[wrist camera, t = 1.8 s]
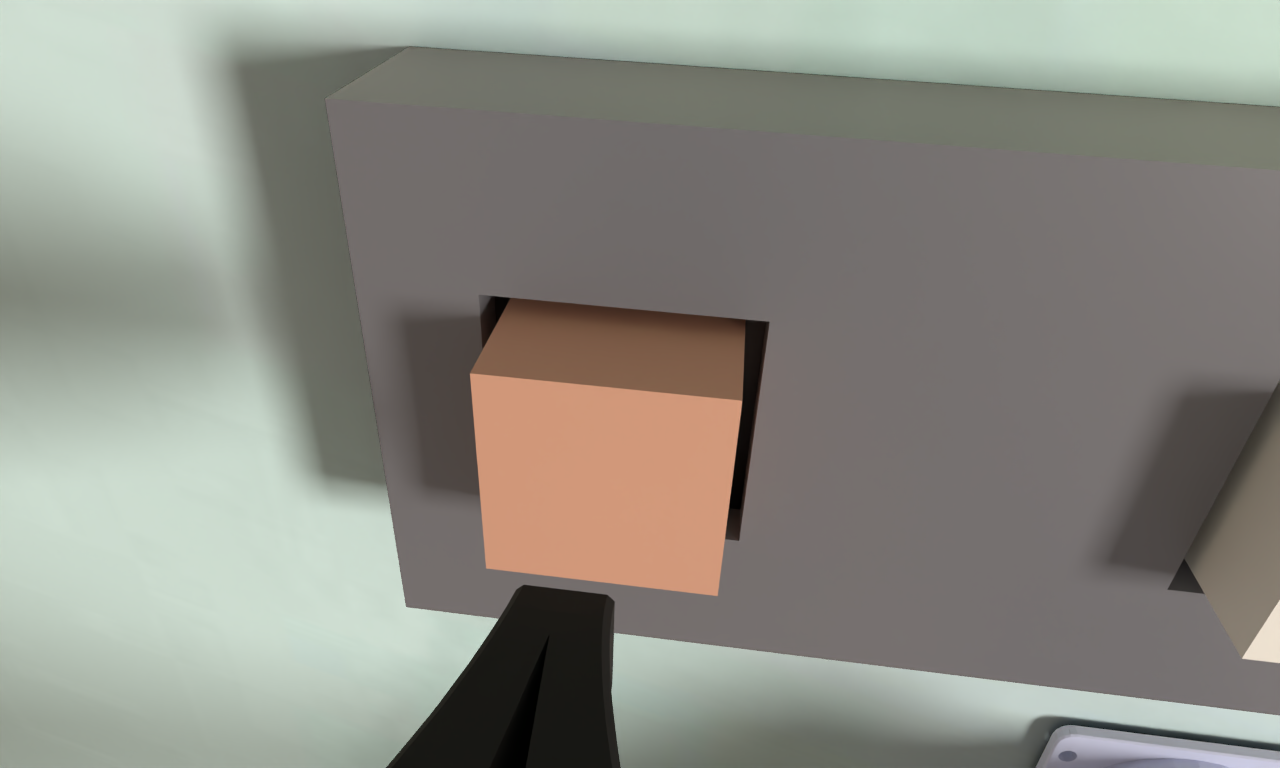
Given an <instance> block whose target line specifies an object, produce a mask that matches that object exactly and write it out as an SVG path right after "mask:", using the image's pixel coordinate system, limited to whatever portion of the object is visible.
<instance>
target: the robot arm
mask: <svg viewBox="0 0 1280 768" xmlns="http://www.w3.org/2000/svg"><path fill="white" fill-rule="evenodd" d="M614 611H615V601H614V600H613V599H612V598H611V597H609V596H608V595H606V594H598V593H590V592H581V591H573V590H565V589H556V588H548V587H540V586H531V585H522V586H521V587H519V588H518V589H516V591H515V592H514V594H513V596H512V598H511V600H510V601H509V603H508V605H507V606H506V608H505V610H504V611H503V613H502V615H501V616H500V618H499V619H498V621H497V623H496V624H495V626H494V627H493V629H492V630H491V632H490V633H489V635H488V636H487V638H486V639H485V641H484V642H483V644H482V645H481V647H480V648H479V650H478V651H477V652H476V654H475V655H474V657H473V658H472V660H471V661H470V663H469V664H468V665H467V667H466V668H465V669H464V671H463V672H462V673H461V675H460V676H459V677H458V679H457V680H456V681H455V683H454V684H453V686H452V687H451V688H450V690H449V691H448V692H447V694H446V695H445V696H444V698H443V699H442V700H441V702H440V703H439V704H438V706H437V707H436V708H435V709H434V711H433V712H432V713H431V714H430V716H429V717H428V718H427V719H426V721H425V722H424V723H423V724H422V725H421V727H420V728H419V729H418V730H417V731H416V733H415V734H414V735H413V736H412V737H411V739H410V740H409V741H408V742H407V743H406V745H405V746H404V747H403V748H402V749H401V751H400V752H399V753H398V754H397V756H396V757H395V758H394V759H393V760H392V761H391V763H390V764H389V765H388V766H387V767H386V768H621V767H620V761H619V754H618V747H617V740H616V732H615V723H614V714H613V705H612V695H611V688H612V672H613V641H614ZM1036 768H1280V751H1272V750H1264V749H1257V748H1249V747H1241V746H1233V745H1225V744H1217V743H1209V742H1202V741H1194V740H1186V739H1178V738H1170V737H1162V736H1154V735H1147V734H1139V733H1131V732H1123V731H1115V730H1107V729H1099V728H1092V727H1084V726H1076V725H1066V726H1062V727H1060V728H1058V729H1056V730H1055V731H1054V732H1053V734H1052V735H1051V737H1050V739H1049V741H1048V743H1047V745H1046V747H1045V749H1044V752H1043V754H1042V756H1041V758H1040V760H1039V762H1038V764H1037V766H1036Z"/></svg>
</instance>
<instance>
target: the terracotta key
mask: <svg viewBox="0 0 1280 768" xmlns="http://www.w3.org/2000/svg"><path fill="white" fill-rule="evenodd" d="M745 323H746V320H745V319H735V318H724V317H713V316H703V315H692V314H681V313H670V312H660V311H649V310H638V309H627V308H617V307H606V306H595V305H584V304H574V303H563V302H552V301H541V300H531V299H520V298H510V300H509V302H508V304H507V306H506V308H505V309H504V311H503V313H502V315H501V317H500V319H499V321H498V322H497V324H496V326H495V328H494V330H493V332H492V333H491V335H490V337H489V339H488V341H487V343H486V345H485V346H484V348H483V350H482V352H481V354H480V356H479V358H478V359H477V361H476V363H475V365H474V367H473V369H472V370H471V372H470V380H471V392H472V404H473V416H474V428H475V440H476V452H477V465H478V477H479V489H480V501H481V513H482V525H483V537H484V549H485V561H486V568H487V569H495V570H504V571H512V572H520V573H529V574H537V575H545V576H554V577H562V578H571V579H579V580H587V581H596V582H604V583H612V584H621V585H629V586H638V587H646V588H654V589H663V590H671V591H680V592H688V593H696V594H705V595H713V596H718V589H719V581H720V573H721V565H722V558H723V550H724V542H725V534H726V526H727V518H728V510H729V503H730V495H731V487H732V479H733V471H734V463H735V455H736V448H737V440H738V432H739V424H740V416H741V408H742V399H743V374H744V349H745Z"/></svg>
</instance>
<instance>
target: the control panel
mask: <svg viewBox="0 0 1280 768" xmlns="http://www.w3.org/2000/svg"><path fill="white" fill-rule="evenodd" d="M325 103H326V110H327V116H328V122H329V128H330V134H331V141H332V147H333V153H334V159H335V166H336V172H337V178H338V184H339V191H340V197H341V203H342V209H343V216H344V222H345V228H346V234H347V241H348V247H349V253H350V259H351V266H352V272H353V278H354V284H355V291H356V297H357V303H358V309H359V316H360V322H361V328H362V334H363V341H364V347H365V353H366V359H367V366H368V372H369V378H370V384H371V390H372V397H373V403H374V409H375V415H376V422H377V428H378V434H379V440H380V447H381V453H382V459H383V465H384V472H385V478H386V484H387V490H388V497H389V503H390V509H391V515H392V522H393V528H394V534H395V540H396V547H397V553H398V559H399V565H400V572H401V578H402V584H403V590H404V597H405V603H406V607H410V608H419V609H427V610H435V611H443V612H451V613H459V614H467V615H475V616H483V617H491V618H500V616H501V615H502V613H503V611H504V610H505V608H506V606H507V605H508V603H509V601H510V600H511V598H512V596H513V594H514V592H515V591H516V589H518V588H519V587H521V586H522V585H531V586H540V587H548V588H556V589H565V590H573V591H581V592H590V593H598V594H606V595H608V596H609V597H611V598H612V599H613V600H614V601H615V611H614V633H620V634H628V635H636V636H644V637H652V638H660V639H668V640H677V641H685V642H693V643H701V644H709V645H717V646H725V647H733V648H741V649H749V650H757V651H765V652H773V653H781V654H789V655H797V656H806V657H814V658H822V659H830V660H838V661H846V662H854V663H862V664H870V665H878V666H886V667H894V668H902V669H910V670H918V671H926V672H935V673H943V674H951V675H959V676H967V677H975V678H983V679H991V680H999V681H1007V682H1015V683H1023V684H1031V685H1039V686H1047V687H1055V688H1064V689H1072V690H1080V691H1088V692H1096V693H1104V694H1112V695H1120V696H1128V697H1136V698H1144V699H1152V700H1160V701H1168V702H1176V703H1184V704H1193V705H1201V706H1209V707H1217V708H1225V709H1233V710H1241V711H1249V712H1257V713H1265V714H1273V715H1280V663H1274V662H1266V661H1258V660H1249V659H1242V658H1241V656H1240V655H1239V653H1238V651H1237V649H1236V648H1235V646H1234V644H1233V642H1232V641H1231V639H1230V637H1229V635H1228V634H1227V632H1226V630H1225V628H1224V627H1223V625H1222V623H1221V621H1220V620H1219V618H1218V616H1217V615H1216V613H1215V611H1214V609H1213V608H1212V606H1211V604H1210V602H1209V601H1208V599H1207V597H1206V595H1205V594H1204V592H1203V590H1202V588H1201V587H1200V585H1199V583H1198V581H1197V580H1196V578H1195V576H1194V574H1193V573H1192V571H1191V569H1190V567H1189V566H1188V564H1187V562H1186V560H1185V559H1184V558H1185V556H1186V554H1187V552H1188V550H1189V548H1190V546H1191V545H1192V543H1193V541H1194V539H1195V537H1196V535H1197V533H1198V531H1199V530H1200V528H1201V526H1202V524H1203V522H1204V520H1205V518H1206V517H1207V515H1208V513H1209V511H1210V509H1211V507H1212V505H1213V504H1214V502H1215V500H1216V498H1217V496H1218V494H1219V492H1220V490H1221V489H1222V487H1223V485H1224V483H1225V481H1226V479H1227V477H1228V476H1229V474H1230V472H1231V470H1232V468H1233V466H1234V464H1235V463H1236V461H1237V459H1238V457H1239V455H1240V453H1241V451H1242V449H1243V448H1244V446H1245V444H1246V442H1247V440H1248V438H1249V436H1250V435H1251V433H1252V431H1253V429H1254V427H1255V425H1256V423H1257V421H1258V420H1259V418H1260V416H1261V414H1262V412H1263V410H1264V408H1265V407H1266V405H1267V403H1268V401H1269V399H1270V397H1271V395H1272V394H1273V392H1274V390H1275V388H1276V386H1277V384H1278V382H1279V380H1280V107H1271V106H1257V105H1243V104H1228V103H1214V102H1200V101H1185V100H1171V99H1156V98H1142V97H1128V96H1113V95H1099V94H1085V93H1070V92H1056V91H1042V90H1027V89H1013V88H999V87H984V86H970V85H956V84H941V83H927V82H912V81H898V80H884V79H869V78H855V77H841V76H826V75H812V74H798V73H783V72H769V71H755V70H740V69H726V68H712V67H697V66H683V65H668V64H654V63H640V62H625V61H611V60H597V59H582V58H568V57H554V56H539V55H525V54H511V53H496V52H482V51H468V50H453V49H439V48H424V47H410V46H409V47H408V48H406V49H404V50H403V51H401V52H400V53H398V54H396V55H395V56H393V57H391V58H390V59H388V60H387V61H385V62H383V63H382V64H380V65H378V66H377V67H375V68H374V69H372V70H370V71H369V72H367V73H365V74H364V75H362V76H361V77H359V78H357V79H356V80H354V81H352V82H351V83H349V84H348V85H346V86H344V87H343V88H341V89H339V90H338V91H336V92H335V93H333V94H331V95H330V96H328V97H326V98H325ZM510 298H520V299H531V300H541V301H552V302H563V303H574V304H584V305H595V306H606V307H617V308H627V309H638V310H649V311H660V312H670V313H681V314H692V315H703V316H713V317H724V318H735V319H745V320H746V323H745V349H744V374H743V399H742V408H741V416H740V424H739V432H738V440H737V448H736V455H735V463H734V471H733V479H732V487H731V495H730V503H729V510H728V518H727V526H726V534H725V542H724V550H723V558H722V565H721V573H720V581H719V589H718V596H713V595H705V594H696V593H688V592H680V591H671V590H663V589H654V588H646V587H638V586H629V585H621V584H612V583H604V582H596V581H587V580H579V579H571V578H562V577H554V576H545V575H537V574H529V573H520V572H512V571H504V570H495V569H487V568H486V561H485V549H484V537H483V525H482V513H481V501H480V489H479V477H478V465H477V452H476V440H475V428H474V416H473V404H472V392H471V380H470V372H471V370H472V369H473V367H474V365H475V363H476V361H477V359H478V358H479V356H480V354H481V352H482V350H483V348H484V346H485V345H486V343H487V341H488V339H489V337H490V335H491V333H492V332H493V330H494V328H495V326H496V324H497V322H498V321H499V319H500V317H501V315H502V313H503V311H504V309H505V308H506V306H507V304H508V302H509V300H510Z"/></svg>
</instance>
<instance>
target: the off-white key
mask: <svg viewBox="0 0 1280 768" xmlns="http://www.w3.org/2000/svg"><path fill="white" fill-rule="evenodd" d="M1184 559H1185V560H1186V562H1187V564H1188V566H1189V567H1190V569H1191V571H1192V573H1193V574H1194V576H1195V578H1196V580H1197V581H1198V583H1199V585H1200V587H1201V588H1202V590H1203V592H1204V594H1205V595H1206V597H1207V599H1208V601H1209V602H1210V604H1211V606H1212V608H1213V609H1214V611H1215V613H1216V615H1217V616H1218V618H1219V620H1220V621H1221V623H1222V625H1223V627H1224V628H1225V630H1226V632H1227V634H1228V635H1229V637H1230V639H1231V641H1232V642H1233V644H1234V646H1235V648H1236V649H1237V651H1238V653H1239V655H1240V656H1241V658H1242V659H1249V660H1258V661H1266V662H1274V663H1280V380H1279V382H1278V384H1277V386H1276V388H1275V390H1274V392H1273V394H1272V395H1271V397H1270V399H1269V401H1268V403H1267V405H1266V407H1265V408H1264V410H1263V412H1262V414H1261V416H1260V418H1259V420H1258V421H1257V423H1256V425H1255V427H1254V429H1253V431H1252V433H1251V435H1250V436H1249V438H1248V440H1247V442H1246V444H1245V446H1244V448H1243V449H1242V451H1241V453H1240V455H1239V457H1238V459H1237V461H1236V463H1235V464H1234V466H1233V468H1232V470H1231V472H1230V474H1229V476H1228V477H1227V479H1226V481H1225V483H1224V485H1223V487H1222V489H1221V490H1220V492H1219V494H1218V496H1217V498H1216V500H1215V502H1214V504H1213V505H1212V507H1211V509H1210V511H1209V513H1208V515H1207V517H1206V518H1205V520H1204V522H1203V524H1202V526H1201V528H1200V530H1199V531H1198V533H1197V535H1196V537H1195V539H1194V541H1193V543H1192V545H1191V546H1190V548H1189V550H1188V552H1187V554H1186V556H1185V558H1184Z"/></svg>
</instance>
